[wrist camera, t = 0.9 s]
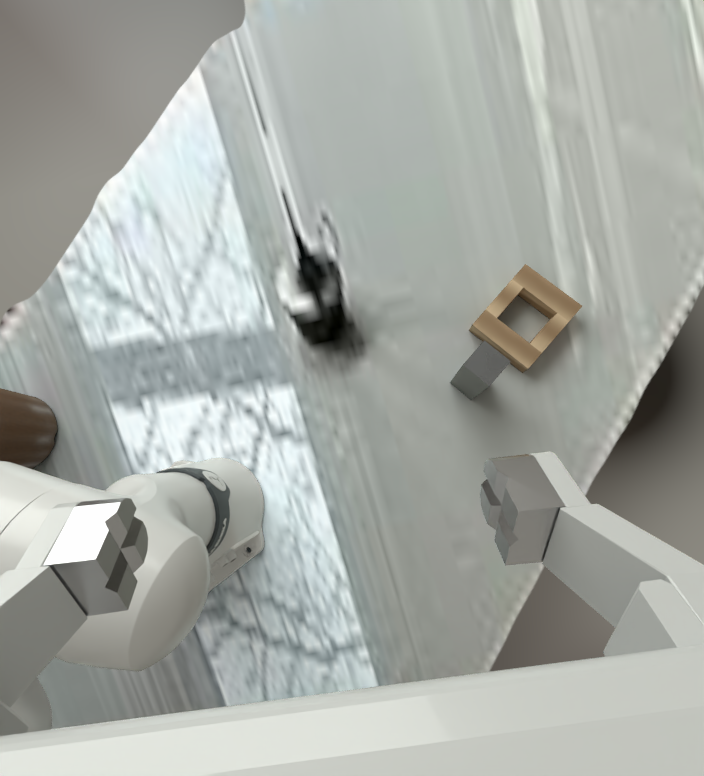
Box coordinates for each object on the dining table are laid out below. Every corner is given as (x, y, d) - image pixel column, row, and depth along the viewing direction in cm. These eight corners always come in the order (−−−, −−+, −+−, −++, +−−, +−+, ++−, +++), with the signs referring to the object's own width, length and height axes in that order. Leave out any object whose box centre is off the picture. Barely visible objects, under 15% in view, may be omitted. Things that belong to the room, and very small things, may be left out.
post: (471, 400, 66) (489, 386, 53) (450, 382, 66) (462, 364, 53) (488, 379, 66) (510, 361, 53) (467, 362, 66) (484, 340, 54)
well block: (522, 372, 65) (528, 368, 62) (468, 330, 67) (472, 324, 64) (573, 312, 66) (582, 306, 63) (519, 272, 68) (525, 264, 65)
